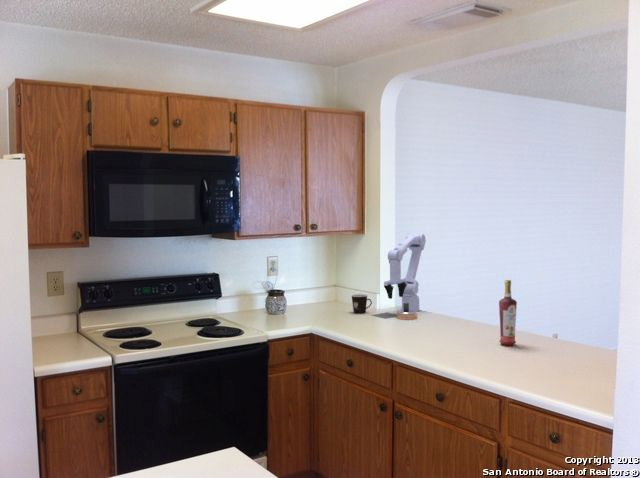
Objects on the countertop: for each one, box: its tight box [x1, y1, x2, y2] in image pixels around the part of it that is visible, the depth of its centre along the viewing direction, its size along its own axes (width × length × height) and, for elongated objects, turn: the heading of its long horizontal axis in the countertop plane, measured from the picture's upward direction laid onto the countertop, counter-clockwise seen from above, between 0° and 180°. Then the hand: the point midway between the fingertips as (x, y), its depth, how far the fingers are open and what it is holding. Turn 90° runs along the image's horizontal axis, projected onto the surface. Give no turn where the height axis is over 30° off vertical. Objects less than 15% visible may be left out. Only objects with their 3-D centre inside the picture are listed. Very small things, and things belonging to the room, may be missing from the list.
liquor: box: [498, 279, 518, 347], centre depth 270 cm, size 7×7×28 cm
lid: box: [396, 303, 417, 315], centre depth 328 cm, size 10×10×5 cm
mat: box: [370, 311, 397, 320], centre depth 335 cm, size 12×12×1 cm
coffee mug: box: [351, 293, 373, 315], centre depth 343 cm, size 12×9×10 cm
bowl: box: [396, 312, 418, 321], centre depth 327 cm, size 10×10×3 cm
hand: (395, 297), depth 336 cm, fingers open, 7 cm apart
